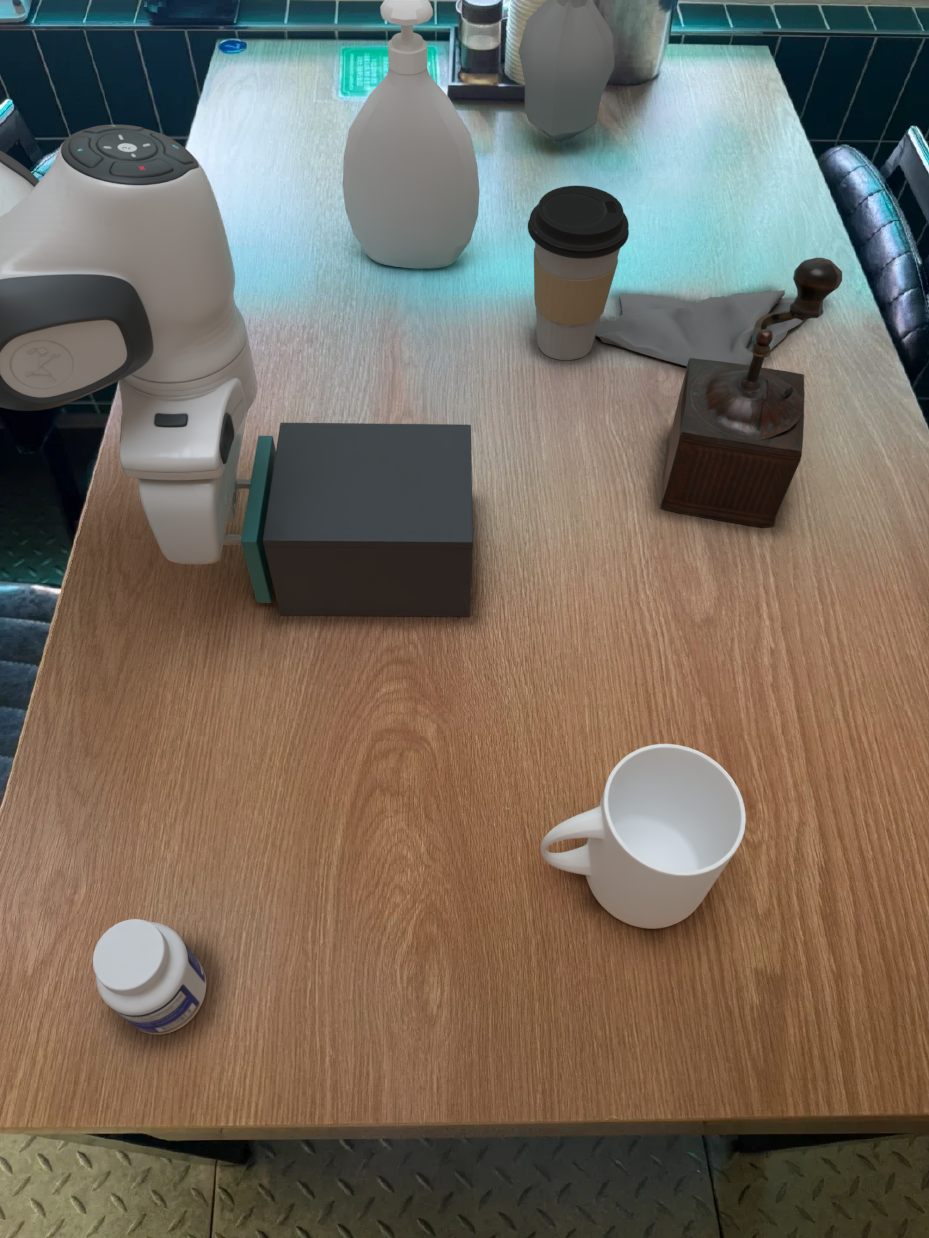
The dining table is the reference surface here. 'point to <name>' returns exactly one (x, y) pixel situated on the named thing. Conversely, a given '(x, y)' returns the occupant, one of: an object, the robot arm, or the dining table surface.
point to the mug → (655, 835)
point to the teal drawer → (257, 519)
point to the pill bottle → (149, 976)
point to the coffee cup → (574, 265)
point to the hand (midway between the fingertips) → (226, 508)
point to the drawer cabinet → (371, 520)
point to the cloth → (695, 326)
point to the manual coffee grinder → (743, 422)
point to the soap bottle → (410, 159)
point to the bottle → (565, 66)
